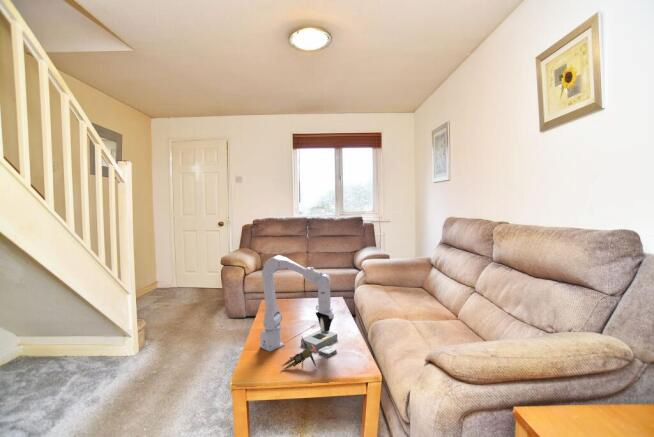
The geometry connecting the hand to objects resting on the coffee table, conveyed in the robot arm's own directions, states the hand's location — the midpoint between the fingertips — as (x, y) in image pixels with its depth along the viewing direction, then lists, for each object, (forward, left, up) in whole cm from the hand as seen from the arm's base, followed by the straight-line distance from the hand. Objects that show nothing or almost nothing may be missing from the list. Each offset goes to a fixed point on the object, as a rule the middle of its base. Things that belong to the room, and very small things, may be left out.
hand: (324, 329), depth 141 cm
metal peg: (0, 0, -2) cm, 2 cm away
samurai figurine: (-18, 0, -11) cm, 21 cm away
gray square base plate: (-1, -3, -10) cm, 11 cm away
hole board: (+5, +8, -10) cm, 14 cm away
